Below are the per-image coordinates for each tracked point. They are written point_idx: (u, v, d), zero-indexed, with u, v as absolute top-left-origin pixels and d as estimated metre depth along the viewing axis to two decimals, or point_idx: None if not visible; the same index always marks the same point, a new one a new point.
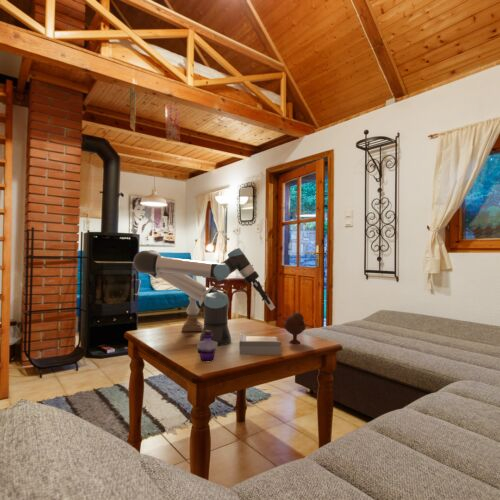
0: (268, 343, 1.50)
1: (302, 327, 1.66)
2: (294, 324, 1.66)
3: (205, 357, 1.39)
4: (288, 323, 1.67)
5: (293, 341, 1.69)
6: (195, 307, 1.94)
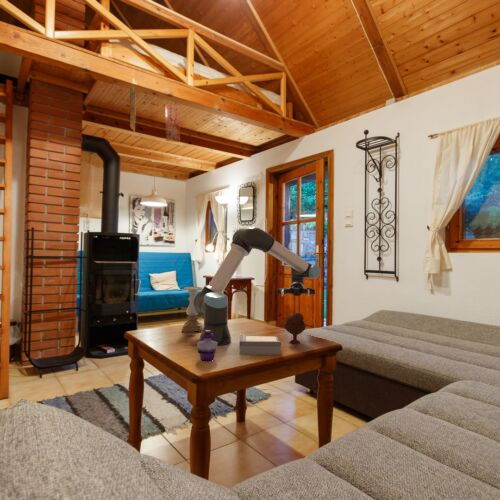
0: (268, 343, 1.50)
1: (302, 327, 1.66)
2: (294, 324, 1.66)
3: (205, 357, 1.39)
4: (288, 323, 1.67)
5: (293, 341, 1.69)
6: None
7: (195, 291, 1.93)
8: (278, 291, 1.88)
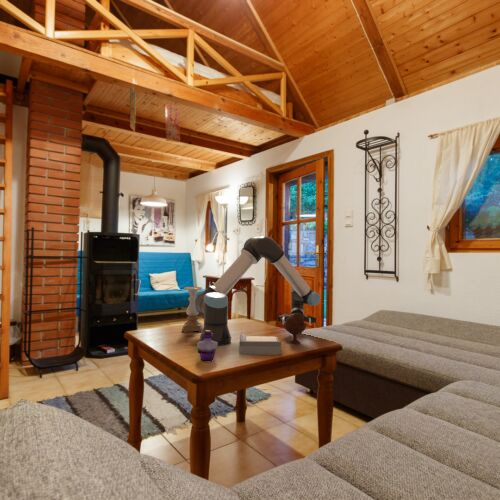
0: (268, 343, 1.50)
1: (302, 327, 1.66)
2: (294, 324, 1.66)
3: (205, 357, 1.39)
4: (288, 323, 1.67)
5: (293, 341, 1.69)
6: None
7: (195, 291, 1.93)
8: (279, 318, 1.85)
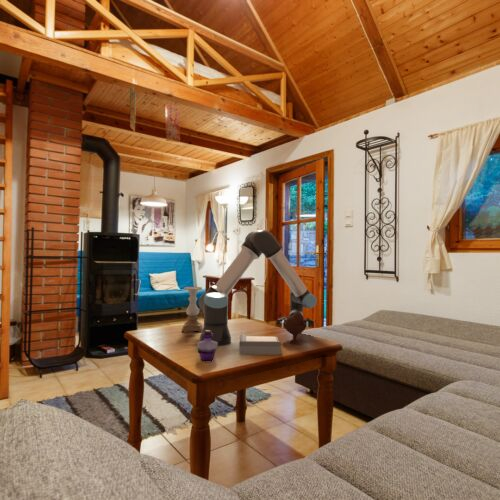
0: (268, 343, 1.50)
1: (302, 327, 1.66)
2: (294, 324, 1.66)
3: (205, 357, 1.39)
4: (288, 323, 1.67)
5: (293, 341, 1.69)
6: (195, 308, 1.93)
7: (195, 291, 1.93)
8: (278, 322, 1.75)
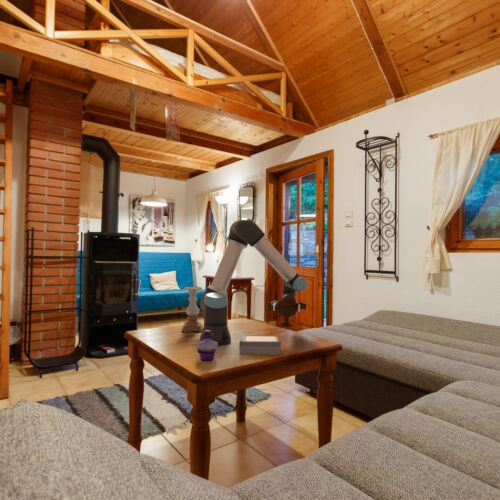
0: (268, 343, 1.50)
1: (294, 309, 1.63)
2: (286, 306, 1.63)
3: (205, 357, 1.39)
4: (280, 305, 1.64)
5: (285, 324, 1.65)
6: (195, 308, 1.93)
7: (195, 291, 1.93)
8: (270, 305, 1.71)
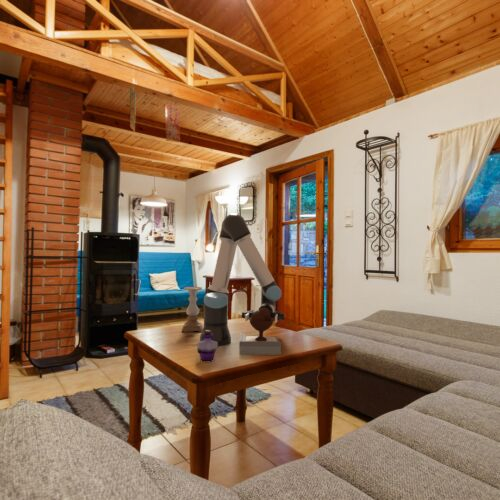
0: (268, 343, 1.50)
1: (268, 323, 1.56)
2: (259, 320, 1.56)
3: (205, 357, 1.39)
4: (253, 319, 1.57)
5: (259, 338, 1.59)
6: (195, 308, 1.93)
7: (195, 291, 1.93)
8: (243, 315, 1.66)
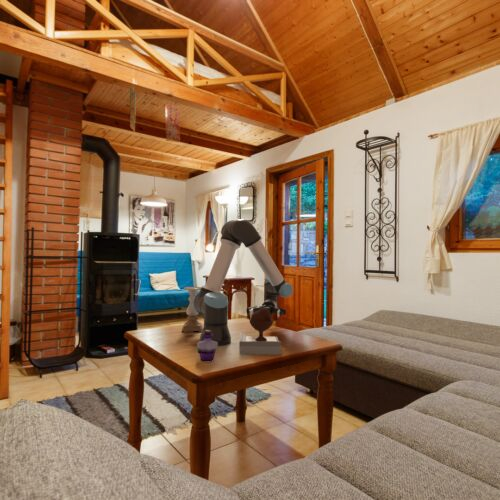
0: (268, 343, 1.50)
1: (268, 323, 1.56)
2: (259, 320, 1.56)
3: (205, 357, 1.39)
4: (253, 319, 1.57)
5: (259, 338, 1.59)
6: None
7: (195, 291, 1.93)
8: (247, 310, 1.78)
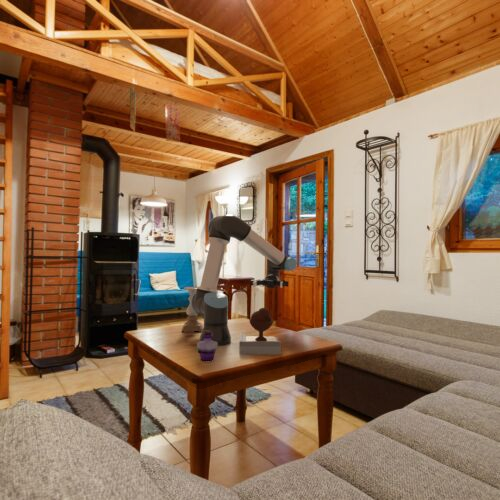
0: (268, 343, 1.50)
1: (268, 323, 1.56)
2: (259, 320, 1.56)
3: (205, 357, 1.39)
4: (253, 319, 1.57)
5: (259, 338, 1.59)
6: None
7: (195, 291, 1.93)
8: (251, 282, 1.83)
